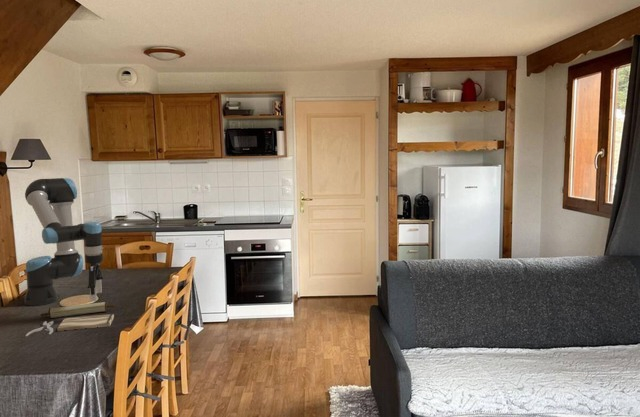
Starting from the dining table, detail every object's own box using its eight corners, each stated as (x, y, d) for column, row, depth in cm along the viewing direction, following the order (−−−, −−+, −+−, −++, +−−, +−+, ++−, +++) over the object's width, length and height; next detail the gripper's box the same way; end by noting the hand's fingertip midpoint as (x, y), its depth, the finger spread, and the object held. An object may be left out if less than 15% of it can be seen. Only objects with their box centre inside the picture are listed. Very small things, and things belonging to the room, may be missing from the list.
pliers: (24, 333, 197) (37, 321, 211) (24, 337, 197) (37, 325, 211) (50, 331, 199) (61, 319, 213) (50, 335, 199) (61, 323, 214)
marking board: (65, 321, 215) (64, 318, 215) (114, 316, 221) (113, 313, 220) (57, 331, 202) (57, 327, 202) (109, 326, 208) (109, 322, 208)
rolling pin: (115, 309, 233) (114, 299, 233) (115, 312, 228) (114, 302, 227) (41, 317, 221) (40, 307, 220) (39, 321, 216) (38, 311, 215)
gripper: (97, 259, 214) (99, 303, 216) (106, 248, 238) (108, 288, 240) (79, 260, 212) (82, 305, 214) (90, 249, 236) (92, 289, 238)
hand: (96, 296), depth 227 cm, fingers open, 13 cm apart
